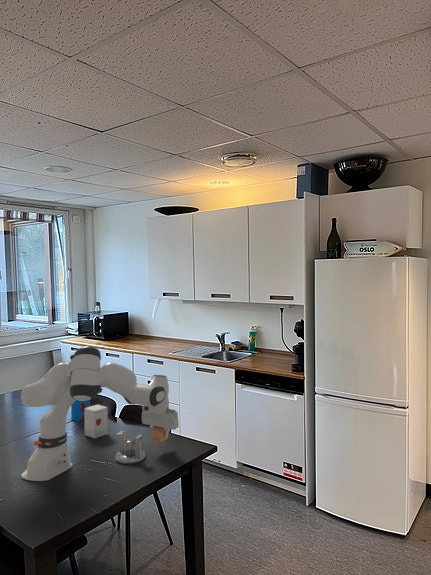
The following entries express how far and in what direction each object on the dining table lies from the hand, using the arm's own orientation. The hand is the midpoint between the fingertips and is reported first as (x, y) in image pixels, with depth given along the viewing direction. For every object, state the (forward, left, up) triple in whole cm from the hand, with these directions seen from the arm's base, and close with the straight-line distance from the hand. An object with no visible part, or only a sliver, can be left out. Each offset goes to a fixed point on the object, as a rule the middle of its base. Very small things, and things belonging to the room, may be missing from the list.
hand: (160, 435), depth 210 cm
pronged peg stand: (-11, +11, -8) cm, 17 cm away
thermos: (+36, +65, -8) cm, 75 cm away
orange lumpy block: (0, 0, -2) cm, 2 cm away
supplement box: (+13, +42, -8) cm, 45 cm away
